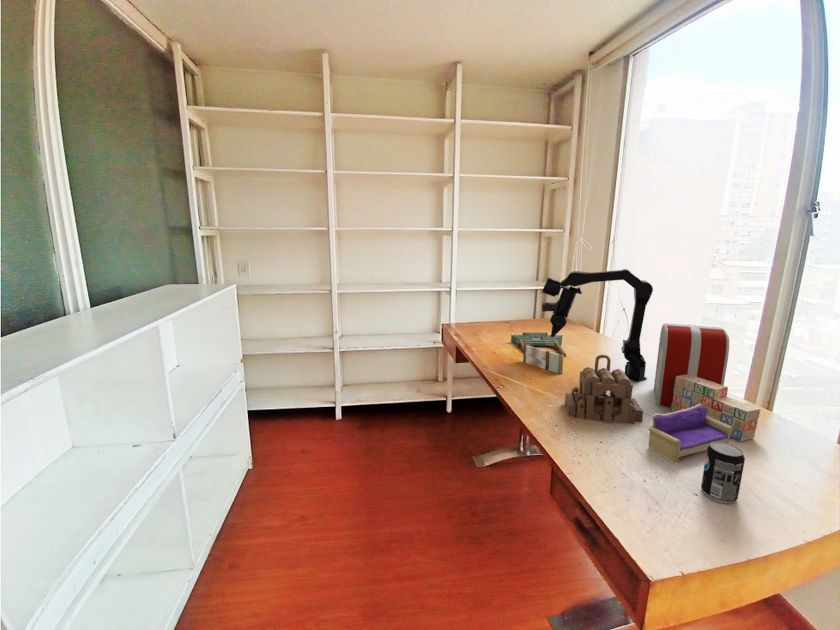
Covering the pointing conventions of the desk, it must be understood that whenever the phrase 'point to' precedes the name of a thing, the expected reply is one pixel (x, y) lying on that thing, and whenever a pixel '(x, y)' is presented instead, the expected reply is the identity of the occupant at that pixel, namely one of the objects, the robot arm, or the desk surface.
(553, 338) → the miniature gate
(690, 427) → the toy sofa
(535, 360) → the fence section
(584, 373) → the wooden puzzle
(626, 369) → the robot arm
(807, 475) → the desk surface
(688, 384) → the stack of blocks
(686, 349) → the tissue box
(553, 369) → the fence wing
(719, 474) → the beverage can
